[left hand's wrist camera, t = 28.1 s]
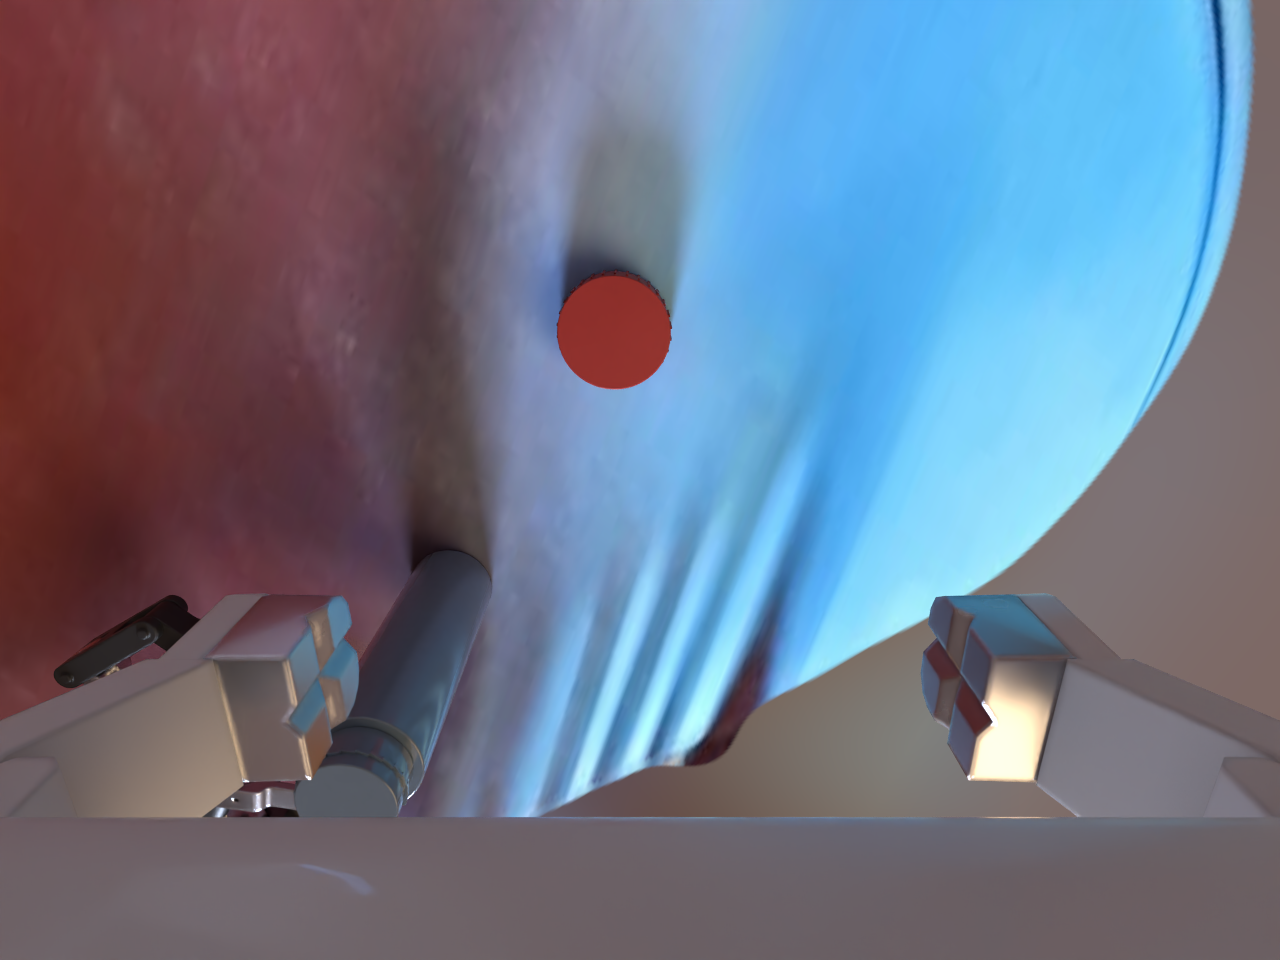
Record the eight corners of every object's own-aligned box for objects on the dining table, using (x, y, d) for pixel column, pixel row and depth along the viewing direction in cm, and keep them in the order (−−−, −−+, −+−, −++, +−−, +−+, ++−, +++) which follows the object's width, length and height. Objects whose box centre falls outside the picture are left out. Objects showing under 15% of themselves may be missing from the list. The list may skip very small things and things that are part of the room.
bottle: (450, 534, 40) (338, 734, 25) (508, 588, 41) (434, 809, 26) (395, 582, 41) (256, 801, 26) (453, 633, 42) (352, 870, 27)
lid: (634, 399, 37) (633, 411, 35) (540, 344, 36) (534, 353, 34) (691, 307, 35) (694, 314, 33) (595, 247, 34) (592, 249, 32)
